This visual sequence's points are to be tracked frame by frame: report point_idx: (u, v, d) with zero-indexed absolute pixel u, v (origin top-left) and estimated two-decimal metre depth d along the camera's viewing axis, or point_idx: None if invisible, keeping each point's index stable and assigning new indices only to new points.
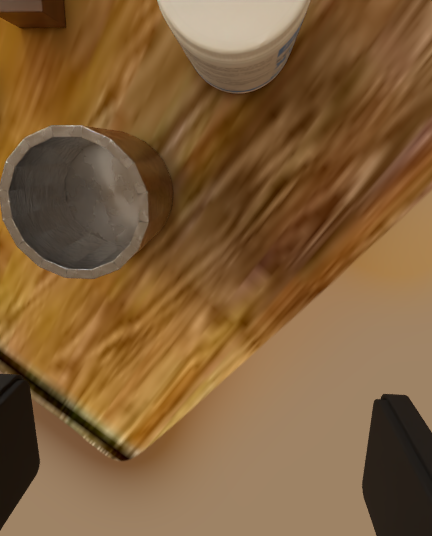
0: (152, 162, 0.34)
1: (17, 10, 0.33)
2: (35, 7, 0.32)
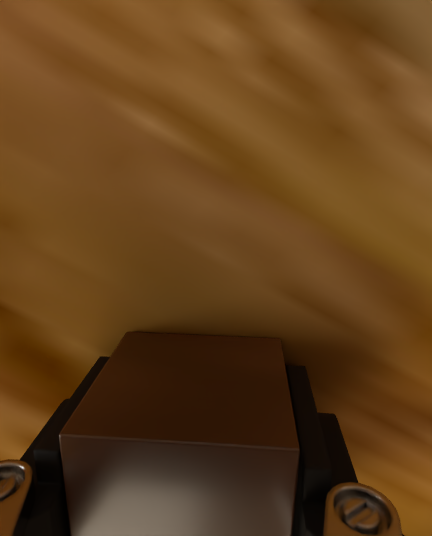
0: None
1: None
2: (281, 474, 0.07)
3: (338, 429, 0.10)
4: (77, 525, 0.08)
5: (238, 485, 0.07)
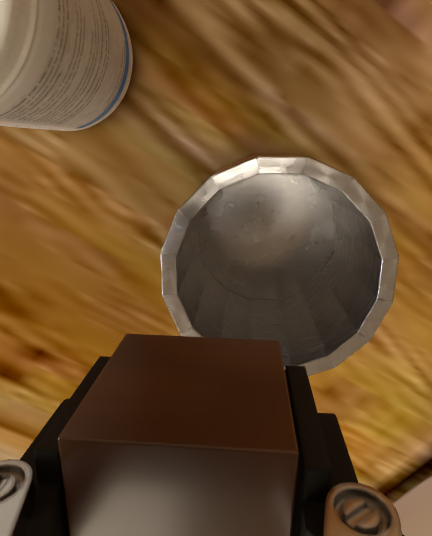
0: (220, 169, 0.24)
1: None
2: (280, 477, 0.07)
3: (338, 429, 0.10)
4: (76, 528, 0.08)
5: (237, 488, 0.07)
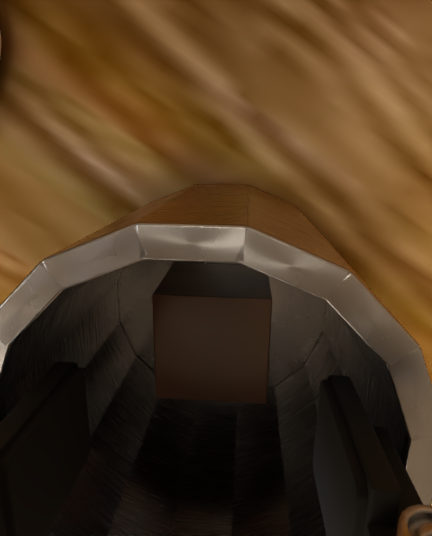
0: (122, 217, 0.14)
1: (266, 352, 0.15)
2: (263, 313, 0.15)
3: (391, 443, 0.09)
4: (158, 346, 0.15)
5: (242, 320, 0.15)
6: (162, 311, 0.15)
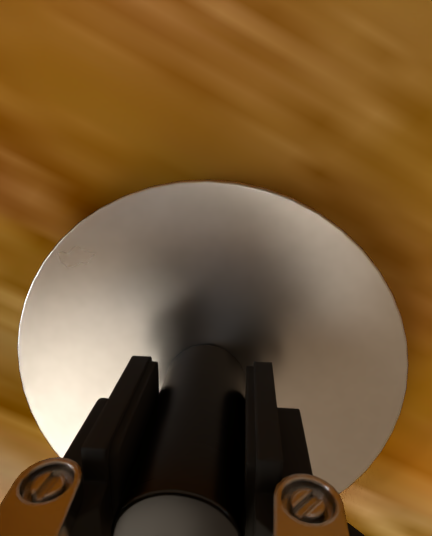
0: None
1: None
2: None
3: (300, 423, 0.10)
4: None
5: None
6: None
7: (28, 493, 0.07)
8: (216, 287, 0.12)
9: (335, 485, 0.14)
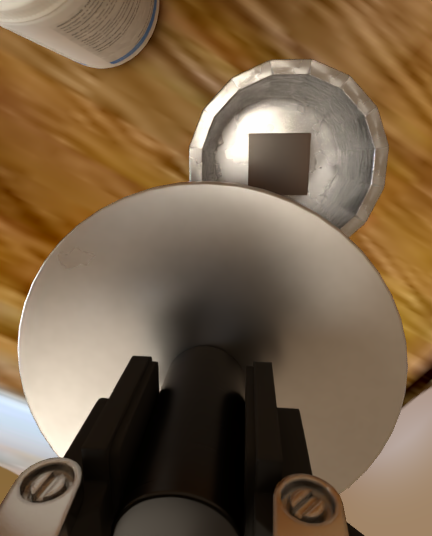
0: None
1: (307, 163, 0.29)
2: (306, 141, 0.29)
3: (300, 423, 0.10)
4: (250, 163, 0.29)
5: (295, 145, 0.29)
6: (254, 142, 0.29)
7: (28, 493, 0.07)
8: (216, 288, 0.12)
9: (335, 486, 0.14)
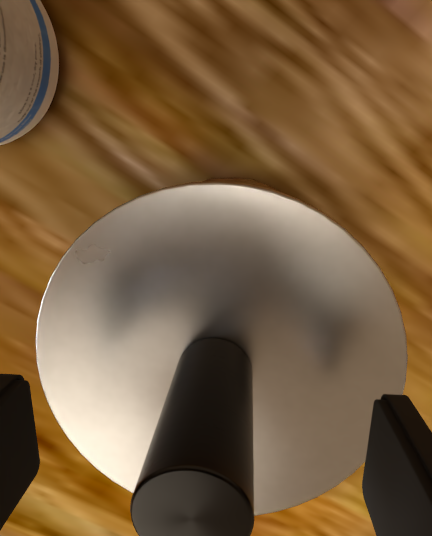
0: None
1: None
2: None
3: None
4: None
5: None
6: None
7: None
8: (225, 282, 0.13)
9: (337, 473, 0.15)
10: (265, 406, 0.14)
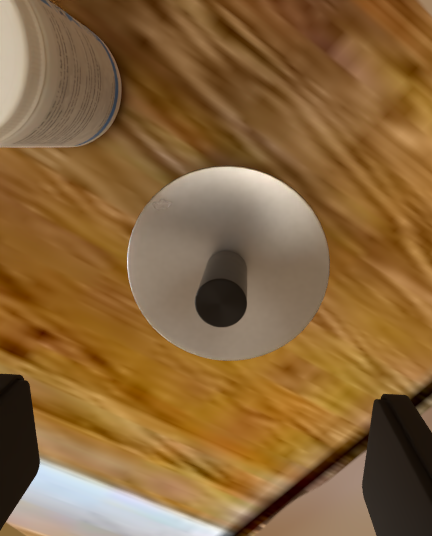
0: None
1: None
2: None
3: None
4: None
5: None
6: None
7: None
8: (232, 219, 0.24)
9: (294, 330, 0.26)
10: (254, 290, 0.26)
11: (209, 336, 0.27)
